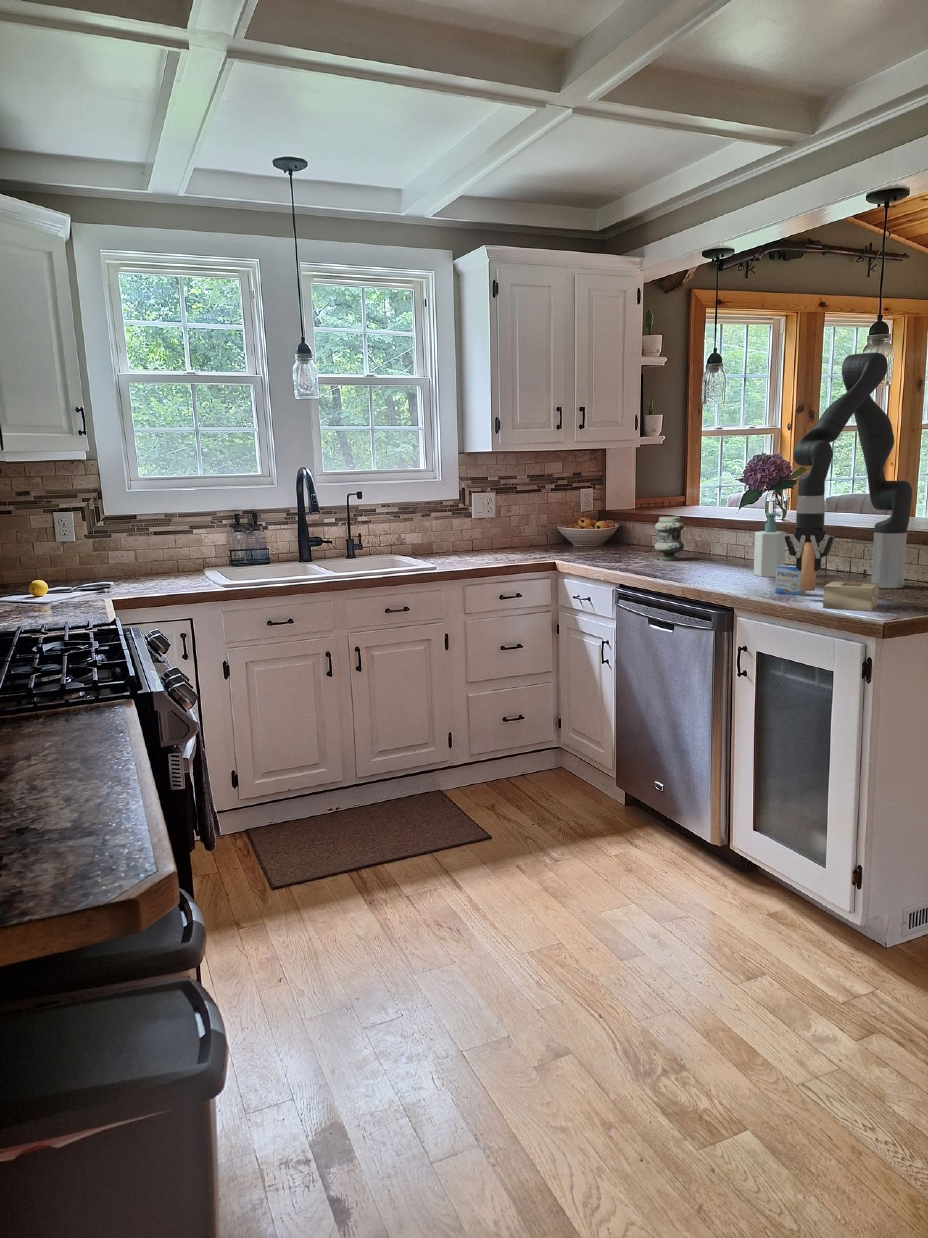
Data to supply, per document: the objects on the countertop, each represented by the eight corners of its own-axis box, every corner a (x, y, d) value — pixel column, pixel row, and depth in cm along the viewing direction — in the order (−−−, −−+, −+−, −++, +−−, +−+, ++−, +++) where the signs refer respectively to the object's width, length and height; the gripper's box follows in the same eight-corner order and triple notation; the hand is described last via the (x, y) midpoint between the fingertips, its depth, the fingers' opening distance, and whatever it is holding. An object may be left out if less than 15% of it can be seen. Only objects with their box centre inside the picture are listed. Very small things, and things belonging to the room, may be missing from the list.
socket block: (832, 601, 245) (833, 580, 244) (877, 604, 238) (879, 583, 237) (822, 607, 235) (824, 586, 234) (870, 611, 229) (871, 588, 227)
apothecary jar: (666, 557, 367) (667, 515, 363) (689, 559, 357) (690, 516, 354) (648, 560, 359) (649, 517, 356) (672, 562, 350) (672, 518, 347)
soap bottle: (772, 577, 296) (775, 514, 292) (749, 575, 303) (751, 513, 299) (788, 575, 302) (791, 512, 299) (765, 572, 309) (767, 512, 306)
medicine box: (774, 593, 262) (775, 565, 261) (781, 591, 265) (782, 564, 264) (799, 596, 257) (800, 567, 255) (806, 594, 260) (807, 566, 258)
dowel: (802, 588, 251) (803, 541, 249) (816, 589, 249) (818, 541, 246) (798, 590, 248) (800, 542, 245) (813, 591, 246) (815, 542, 243)
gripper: (839, 510, 243) (837, 570, 247) (788, 510, 251) (786, 568, 255) (834, 512, 237) (831, 573, 241) (781, 512, 245) (779, 571, 248)
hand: (808, 570), depth 248 cm, fingers closed on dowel, 4 cm apart
